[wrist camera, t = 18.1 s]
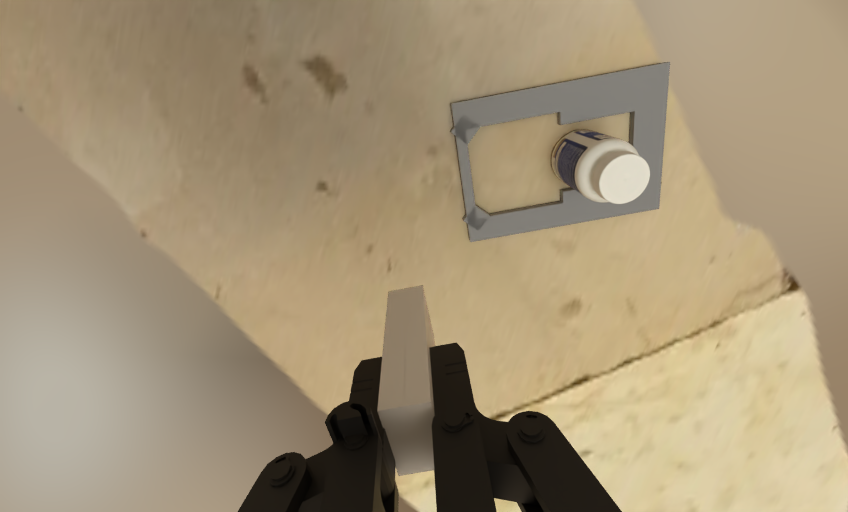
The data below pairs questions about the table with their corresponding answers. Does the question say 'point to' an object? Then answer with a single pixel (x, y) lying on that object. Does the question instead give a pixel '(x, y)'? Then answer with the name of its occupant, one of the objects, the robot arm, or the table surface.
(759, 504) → the table surface
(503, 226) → the keyhole board
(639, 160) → the pill bottle
